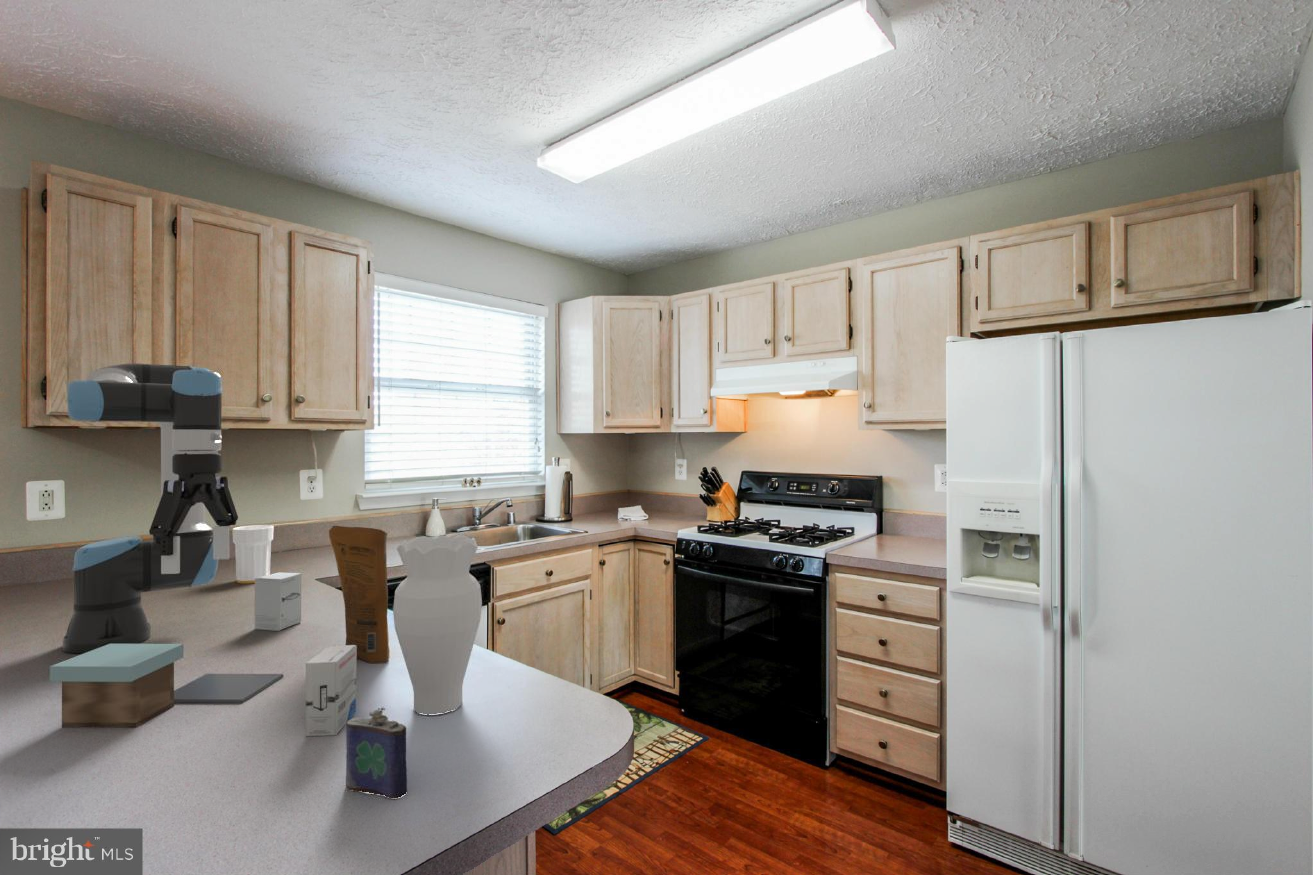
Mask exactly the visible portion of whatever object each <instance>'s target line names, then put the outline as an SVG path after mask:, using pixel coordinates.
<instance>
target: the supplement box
mask: <svg viewBox="0 0 1313 875" xmlns="http://www.w3.org/2000/svg"><path fill="white" fill-rule="evenodd" d="M301 623H302V573H301V572H275V573H272V574H271V573H270V575H266V576H262V577H258V578H255V583H254V630H262V631H272V632H273V631H276V632H279V631H282V630H283V629H286V628H289V627H292V626H294V625H298V624H301Z"/></svg>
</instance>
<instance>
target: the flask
mask: <svg viewBox="0 0 1313 875" xmlns="http://www.w3.org/2000/svg"><path fill="white" fill-rule="evenodd" d="M385 710H386V708H385V707H381V708H379V707H378V708H377V709H376V710H374V711H372V712H371V711H370V712H369V714H368V715H369V716H370V717H371V718H370V717H354V718H350V719H349V720H348V721H347V723H346V724H345V733H346V734H345V737H346V738H345V739H346V742H345V743H346V745H345V746H346V748H345V750H346V752H345V753H346V754H345V756H346V759H345V760H346V762H345V763H346V766H345V767H346V768H345V788H346V789H347V790H348V791H350V790H353V791H355V792H358V791H362V792H369V793H374V794H375V795H376V794H380V795H385V796H386V797H389V798H398V797H401V796H402V795H404V794H406V792H407V793H408V788H407V787H408V783H407V782H408V774H407V772H408V767H407V727H406V725H405V724H403V723H399V722H398V721H396V720H389V717H388V716H387V715H383V711H385ZM406 795H407V794H406ZM389 798H388V799H389Z"/></svg>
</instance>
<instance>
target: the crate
mask: <svg viewBox="0 0 1313 875" xmlns="http://www.w3.org/2000/svg"><path fill="white" fill-rule="evenodd" d="M174 691H175V662H172V663H170V664H168V665H166V666H164V667H162V668H160V669H157V670H155V671H153V672H151V673H149V674H147V675H144V676H142V677H140V678H138V679H136V680H134V681H131V682H69V681H61V728H127V729H128V728H130V729H131V728H135V729H136V728H138V727H139V726H141V725H142V724H145V723H147V722H148V721H150V720H152V719H154V718H155V717H158V716H159V715H161V714H163V713H164V712H167V711H168V710H171V709H172V708H174V707H175V703H174Z"/></svg>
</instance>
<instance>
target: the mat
mask: <svg viewBox="0 0 1313 875" xmlns="http://www.w3.org/2000/svg"><path fill="white" fill-rule="evenodd" d="M283 677H284V673H205V674H203V675H201V676H200V677H197V678H195V679H194V680H192V681H190V682H188V683H186V684H184V685H183V686H180V687H178V688H176V689H174V704H176V703H180V704H185V703H186V704H188V703H189V704H190V703H191V704H194V703H195V704H199V703H200V704H202V703H203V704H210V703H212V704H230V703H231V704H243V703H245V702H246V701H248V700H250V699H251V698H253V697H254V696H256V695H258V694H259V693H261V692H262V691H263V690H265V689H267V688H268V687H269V686H272V685H273V684H274V683H276V682H278V681H279V680H281V679H282V678H283Z"/></svg>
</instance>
